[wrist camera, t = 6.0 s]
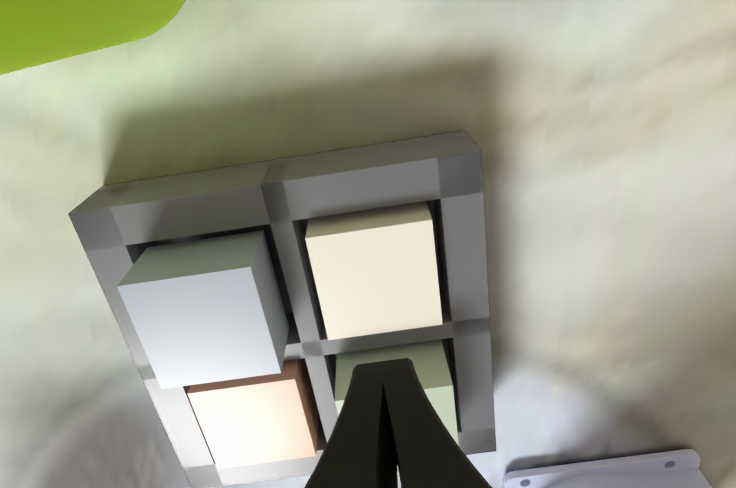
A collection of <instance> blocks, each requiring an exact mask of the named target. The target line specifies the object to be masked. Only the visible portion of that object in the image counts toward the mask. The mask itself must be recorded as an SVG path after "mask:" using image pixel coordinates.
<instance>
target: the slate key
mask: <svg viewBox="0 0 736 488" xmlns="http://www.w3.org/2000/svg"><path fill="white" fill-rule="evenodd" d="M117 288H118V290H119V293H120V295H121V297H122V300H123V302H124V304H125V307H126V309H127V311H128V313H129V316H130V318H131V320H132V323H133V325H134V327H135V330H136V332H137V334H138V337H139V339H140V341H141V343H142V346H143V348H144V350H145V353H146V355H147V357H148V360H149V362H150V364H151V367H152V369H153V371H154V373H155V376H156V378H157V380H158V383H159V385H160V387H161V389H167V388H175V387H182V386H189V385H196V384H204V383H211V382H218V381H226V380H233V379H240V378H248V377H255V376H262V375H270V374H277V373H281V371H282V365H283V360H284V354H285V348H286V343H287V337H288V332H289V324H288V320H287V317H286V313H285V309H284V305H283V302H282V298H281V294H280V290H279V287H278V283H277V279H276V275H275V272H274V268H273V264H272V260H271V257H270V253H269V249H268V245H267V241H266V238H265V234H264V230H261V231H255V232H248V233H241V234H234V235H228V236H221V237H214V238H207V239H201V240H194V241H187V242H180V243H174V244H167V245H160V246H153V247H147V248H146V249H145V251H144V252H143V253H142V254H141V256H140V257H139V258H138V260H137V261H136V262H135V263H134V265H133V266H132V267H131V269H130V270H129V271H128V272H127V274H126V275H125V276H124V278H123V279H122V280H121V281H120V283H119V284H118V285H117Z"/></svg>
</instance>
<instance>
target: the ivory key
mask: <svg viewBox="0 0 736 488" xmlns="http://www.w3.org/2000/svg"><path fill="white" fill-rule="evenodd" d="M305 240H306V245H307V249H308V253H309V258H310V262H311V267H312V271H313V275H314V280H315V284H316V289H317V293H318V297H319V302H320V306H321V311H322V315H323V319H324V324H325V328H326V333H327V337H328V340H335V339H342V338H349V337H356V336H363V335H371V334H378V333H385V332H392V331H399V330H407V329H414V328H421V327H428V326H435V325H443V323H442V313H441V303H440V293H439V283H438V273H437V263H436V253H435V243H434V233H433V223H432V218H431V215H430V212H429V209H428V206H427V203H426V201H421V202H414V203H408V204H401V205H394V206H387V207H381V208H374V209H367V210H360V211H354V212H347V213H340V214H334V215H327V216H320V217H313V218H309V220H308V225H307V231H306V236H305Z"/></svg>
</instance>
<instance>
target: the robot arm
mask: <svg viewBox="0 0 736 488" xmlns="http://www.w3.org/2000/svg"><path fill="white" fill-rule="evenodd" d="M700 461H701V458H700V456H699V455H698V453H697V452H696V451H695V450H693V449H683V450H675V451H668V452H660V453H652V454H644V455H636V456H628V457H620V458H612V459H604V460H596V461H589V462H581V463H573V464H565V465H557V466H549V467H541V468H533V469H525V470H517V471H511V472H508V473H507V474H506V475H505V476H504V478H503V487H504V488H712V486H711V485H710V484H709V482H708V481H707V479H706V478H705V477H704V475H703V474H702V472H701V471H700V470H699V466H700ZM397 466H398V471H399V476H400V481H401V488H492V487H491V486H490V485H489V484H488V482H487V481H486V480H485V479H484V478H483V476H482V475H481V474H480V473H479V472H478V470H477V469H476V468H475V467H474V466H473V464H472V463H471V462H470V460H469V459H468V458H467V457H466V455H465V454H464V453H463V451H462V450H461V449H460V447H459V446H458V444H457V443H456V442H455V440H454V439H453V437H452V436H451V434H450V433H449V431H448V430H447V428H446V427H445V425H444V424H443V422H442V421H441V419H440V417H439V416H438V414H437V413H436V411H435V409H434V408H433V406H432V404H431V403H430V401H429V399H428V397H427V395H426V393H425V391H424V389H423V387H422V385H421V383H420V381H419V379H418V376H417V374H416V371H415V369H414V365H413V361H412V360H410V359H409V358H402V359H394V360H387V361H380V362H372V363H365V364H358V365H356V366H355V367H354V369H353V372H352V377H351V381H350V384H349V388H348V391H347V394H346V397H345V400H344V403H343V406H342V409H341V411H340V414H339V416H338V419H337V421H336V424H335V426H334V429H333V431H332V434H331V436H330V438H329V440H328V442H327V444H326V447H325V449H324V451H323V453H322V455H321V457H320V459H319V461H318V463H317V465H316V467H315V469H314V471H313V473H312V475H311V477H310V479H309V480H308V482H307V484H306V486H305V488H398V479H397Z"/></svg>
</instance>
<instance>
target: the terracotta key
mask: <svg viewBox="0 0 736 488" xmlns="http://www.w3.org/2000/svg"><path fill="white" fill-rule="evenodd" d="M187 394H188V397H189V399H190V402H191V404H192V407H193V409H194V412H195V414H196V416H197V419H198V421H199V424H200V426H201V429H202V431H203V434H204V436H205V439H206V441H207V444H208V446H209V449H210V451H211V453H212V456H213V458H214V461H215V463H216V466H217V468H218V469H220V468H228V467H235V466H243V465H251V464H258V463H266V462H274V461H282V460H289V459H297V458H305V457H312V456H316V451H317V438H318V424H319V410H318V407H317V403H316V399H315V395H314V391H313V387H312V383H311V379H310V376H309V372H308V368H307V364H306V360H305V358H301V359H293V360H286V361H283V365H282V371H281V373H277V374H270V375H262V376H255V377H248V378H240V379H233V380H226V381H218V382H211V383H204V384H196V385H191V386H190V388H189V391H188V393H187Z"/></svg>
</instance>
